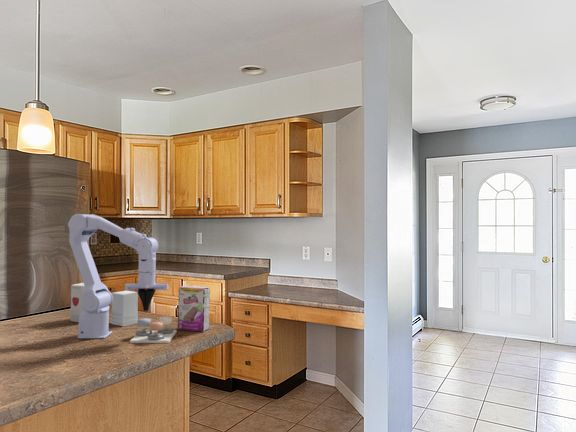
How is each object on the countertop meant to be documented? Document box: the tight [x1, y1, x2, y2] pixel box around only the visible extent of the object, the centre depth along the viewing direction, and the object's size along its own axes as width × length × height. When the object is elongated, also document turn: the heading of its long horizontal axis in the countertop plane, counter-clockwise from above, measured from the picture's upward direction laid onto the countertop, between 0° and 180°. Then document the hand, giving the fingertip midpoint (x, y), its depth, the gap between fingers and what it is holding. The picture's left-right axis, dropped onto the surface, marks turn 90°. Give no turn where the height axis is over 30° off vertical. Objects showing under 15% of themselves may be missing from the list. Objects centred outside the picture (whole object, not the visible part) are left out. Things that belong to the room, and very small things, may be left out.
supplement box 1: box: [69, 282, 86, 323], centre depth 176 cm, size 9×9×15 cm
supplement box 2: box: [110, 290, 139, 327], centre depth 171 cm, size 7×7×13 cm
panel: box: [129, 326, 178, 344], centre depth 152 cm, size 13×14×3 cm
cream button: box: [158, 316, 173, 326], centre depth 157 cm, size 5×5×2 cm
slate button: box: [136, 317, 152, 328], centre depth 153 cm, size 5×5×2 cm
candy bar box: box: [177, 284, 211, 332], centre depth 164 cm, size 11×5×16 cm, turn 74°
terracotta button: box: [148, 321, 164, 331], centre depth 148 cm, size 5×5×2 cm
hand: (146, 310), depth 150 cm, fingers closed
